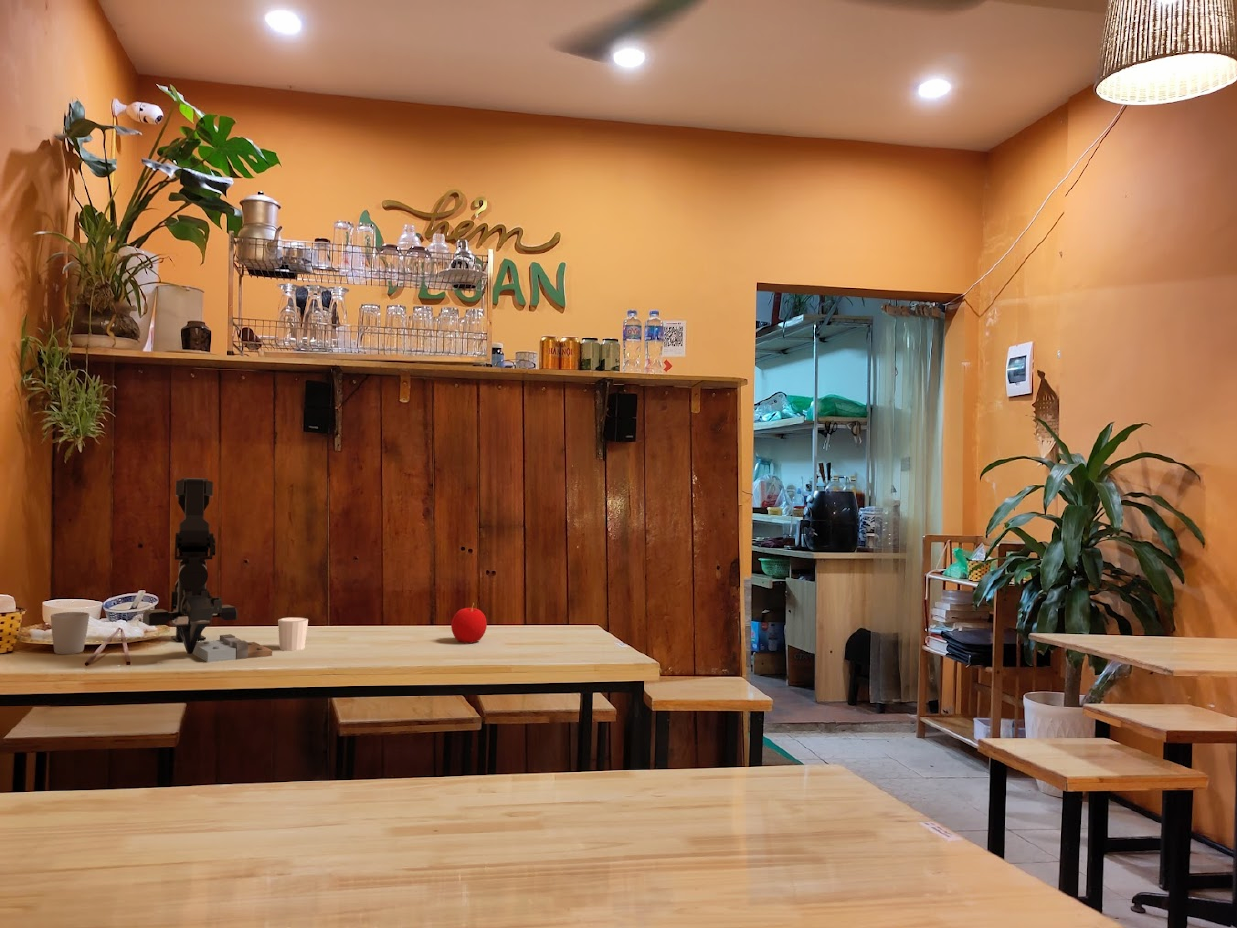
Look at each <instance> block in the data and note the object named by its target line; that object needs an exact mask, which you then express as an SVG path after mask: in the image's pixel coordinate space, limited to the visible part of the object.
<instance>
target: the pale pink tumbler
mask: <svg viewBox="0 0 1237 928" xmlns="http://www.w3.org/2000/svg"><path fill="white" fill-rule="evenodd" d="M308 622H309V619H308V618H305V617H297V616H295V617H293V616H292V617H291V616H290V617H283V618H279V619H277V625H278V627H277V629H278V645H279V650H281V651H286V652H287V651H289V652H293V651H294V652H295V651H303V650H305V647H306V641H307V640H306V638H307V633H308Z"/></svg>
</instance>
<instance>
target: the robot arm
mask: <svg viewBox="0 0 1237 928" xmlns="http://www.w3.org/2000/svg"><path fill="white" fill-rule="evenodd" d="M174 494H175V497H178V500H177V503H178V505H179V507H180V508H181V510H182V512H183V513H184V519H183V520H182V521H180V523H179V525H178V526H179V527H178V528H179V529H178V532H175V537H174V538H175V541H174V560H177V561H178V560H180V561H179V563H178V579H177V580H176V581H175V584H174V587H175V588H174V590H171V603H170V604H171V605H170V607H171V608H170V611H168V610H165V609H163V608H159V609H156V608H154V609H145V611H144V612H143V615H142V623H143V624H145V625H147V626H150V627H155V626H156V627H157V626H158V627H159V626H165V625H167V624H168V623H170V625H171V626H173V627H175V629H176V630H175V635H171V636H170V637H171V639H173V640H174V641H176V642H178V643H179V642H181V643H183V645H184V648H185V650H186V653H187V654H188V655H193V654H192V653H193V651H194V648H195V646H196V643H197V642H199V641H205V640H206V639H207V637H206V636H204V635H202V632H203V630H204V629H206V627H207V626H211V625H212V622H210V621H212V620H213V618H220V619H222V621H235V620H238V617H239V616H238V614H239V612H238V609H237V608H236V607H235V606H234V605H230V604H223V599H222V597H221V596H218V597H217V596H216V597H215V596H214V597H213V596H212V594H210V590H209V589H208V588H207V581H208V578H209V573H208V569H207V568H208V563H207V561H206V560H213V556H216V537H215V536H214V533H213V532H210V523H209V522H208V521H207V520H206V519H205V511H206V508H207V507H208V506H209V505H210V498H213V497H214V481H212V480H211V481H210V480H209V479H208V478H205V477H204V478H203V477H201V478H200V477H181V479H180V480H175V493H174ZM170 621H171V622H170Z"/></svg>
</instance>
